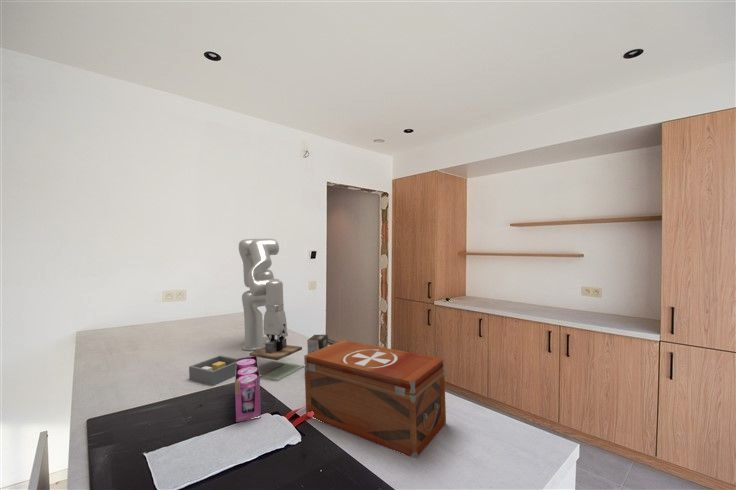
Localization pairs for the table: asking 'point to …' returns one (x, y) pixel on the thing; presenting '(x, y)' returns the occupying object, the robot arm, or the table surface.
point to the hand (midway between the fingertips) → (276, 349)
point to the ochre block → (218, 365)
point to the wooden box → (377, 394)
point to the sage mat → (282, 371)
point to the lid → (275, 350)
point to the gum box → (247, 388)
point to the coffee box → (317, 343)
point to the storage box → (213, 376)
